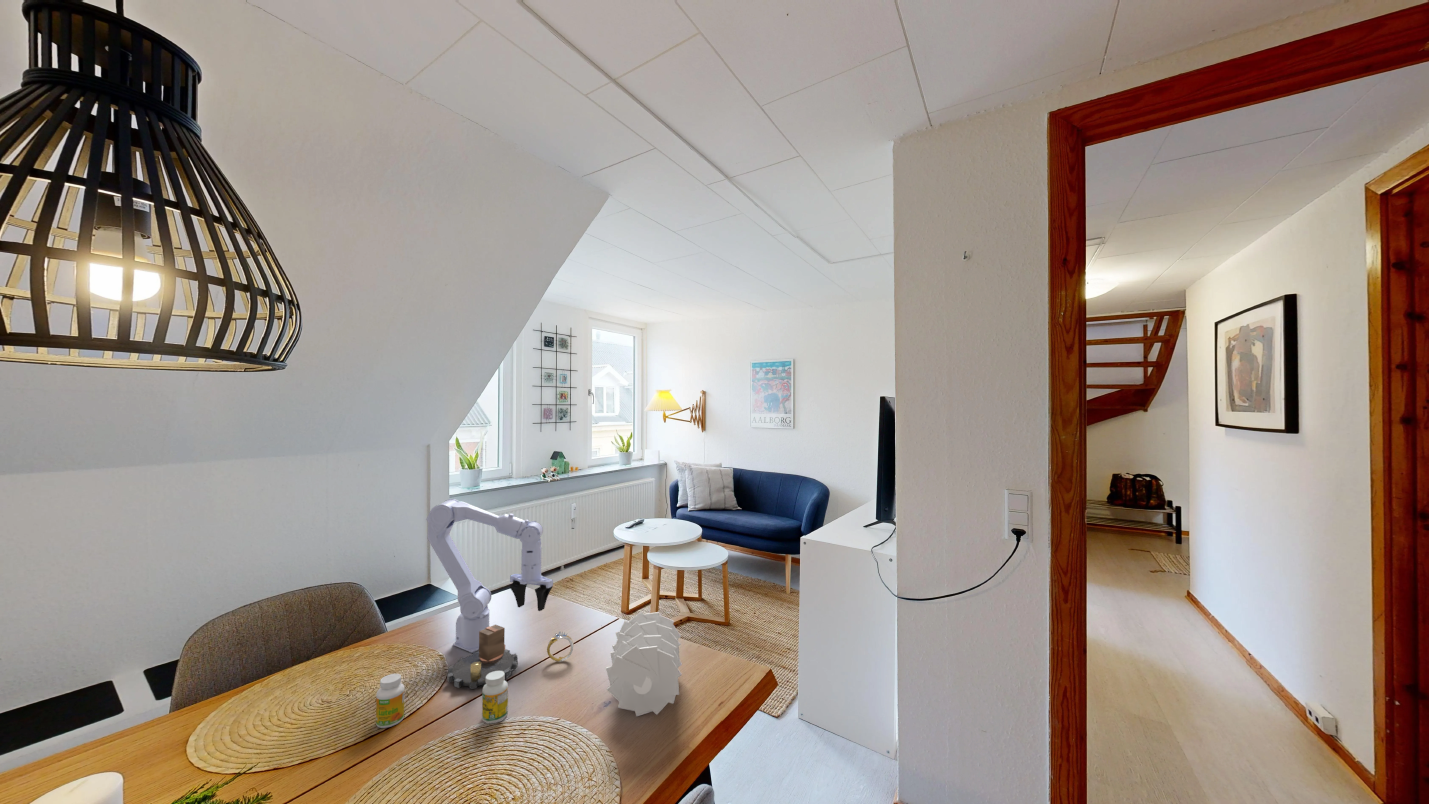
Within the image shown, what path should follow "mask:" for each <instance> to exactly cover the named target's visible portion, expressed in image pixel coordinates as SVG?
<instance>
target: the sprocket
mask: <svg viewBox="0 0 1429 804" xmlns="http://www.w3.org/2000/svg"><path fill="white" fill-rule="evenodd" d="M518 667H519V661H518V655H517V653H513V654H512V653H511V650H509V649H506V648H505V650H504V653H503V654H501V655H499V656H497V657H495V658H493V659H491V660H489V661H487V660H484V659H482V658H480V657H479V650H477V651H475V652H472V654H471V655H467V656H466V657H464V656H462V657H460V658H458V659H457V660H456V663H455V664H454V665H453V664H450V666H449V667H448V671H447V672H448V673H447V675H446V676H447V677H446V679H447V682H448V683H452V682H453V687H455V688H457V689H458V688H461V687H469V690H470V689H471V690H472V689H477V688H478V686H484V685H485V684H486V682H485V681H486V675H487V674H489V673H491V672H494V671H503V672H504V673H505V679H508V678H509V677H510V676H512V671H513V670H514V671H515V670H517V669H518Z"/></svg>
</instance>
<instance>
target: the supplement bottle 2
mask: <svg viewBox="0 0 1429 804" xmlns="http://www.w3.org/2000/svg"><path fill="white" fill-rule="evenodd" d="M505 679H506V678H505V673H504V672H503V671H494V672H491V673H489V674H487V675H486V681H485V682H486V684H485V685H483V687H482V693H481V696H482V700H481V703H482V707H481V709H482V710H481V711H482V713H481V717H482V718H481V719H482V721H483V722H484V723H485V724H497V723H500V722H501V721H503V720H504V719H506V717H507V715H508V712H509V711H508V710H509V709H508V707H509V700H508V699H509V698H508V697H509V695H508V694H509V686H508V685H509V684H508V682H507V680H505Z"/></svg>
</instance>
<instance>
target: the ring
mask: <svg viewBox="0 0 1429 804" xmlns="http://www.w3.org/2000/svg"><path fill="white" fill-rule="evenodd" d="M554 634H555V635H552V637H551V638H550V640H548V641H549V642H548V643H547V647H546V652H547V656H548V657H549V658H550V659H551V660H553V661H554V662H559V663H561V662H563V661H566V660H568V659H569V658H570V657H571V656H572V653H573V650H574V646H575V645H574V641H573V639H572V638H571V636H569V635H568V633H567V632H565V631H562V632H561V631H560V630H559V631H558V633H554ZM558 640H567V641H568V643H569V644H570V650H569V652H568V653H567V655H565V656H559V657H556V656H554V655H553V654H552V652H551V646H552V645H553V644H554V643H556V642H558Z"/></svg>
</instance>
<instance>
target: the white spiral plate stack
mask: <svg viewBox="0 0 1429 804" xmlns="http://www.w3.org/2000/svg"><path fill="white" fill-rule="evenodd" d="M674 623H675V620H673V619H671V618H668V617H666V616H664V615H662V614H660V611H657V612H656V611H655V612H648V613H644V612H642V611H639V612H638V613H637V614H636V615H634V616H633V617H631V619H629V620H624V621H623V624H622V625H621V627H620V630H618V631H616V632H615V636H616V639H617V640H616V642H615V644H613V645H612V650H613V651H610V653H609V654H610V657H611V664H612V665H609V666H607V667H605V670H606V674H607V677H608V682H609V686H608V687H607V689H606V691H608V692H609V694H611V695H612V696H613V698H615V699H616V700H617V701H618V705H617V708H619V709H623V710H628V711H632V712H634V713H635V717H639V716H642V715H645V714H648V713H651V712H653V713H654V714H655V715H658V714H659V713H660V712H661V711H662V710H663V709H664V708H665V707H666V705H668V704H669V703H670V704H674V703H675V700H676V696H679V695H680V688H679V678H680V677H681V676H682V675H683V673H682V672H681V671H680V669H679V667H681V666H682V665H683V663H682V661H681V658H680V646H681V642H680V641H679V639H680V638H681V637H682V635H681V634H680V632H679V631H678V629H677V628H676V626H675V625H674Z"/></svg>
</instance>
